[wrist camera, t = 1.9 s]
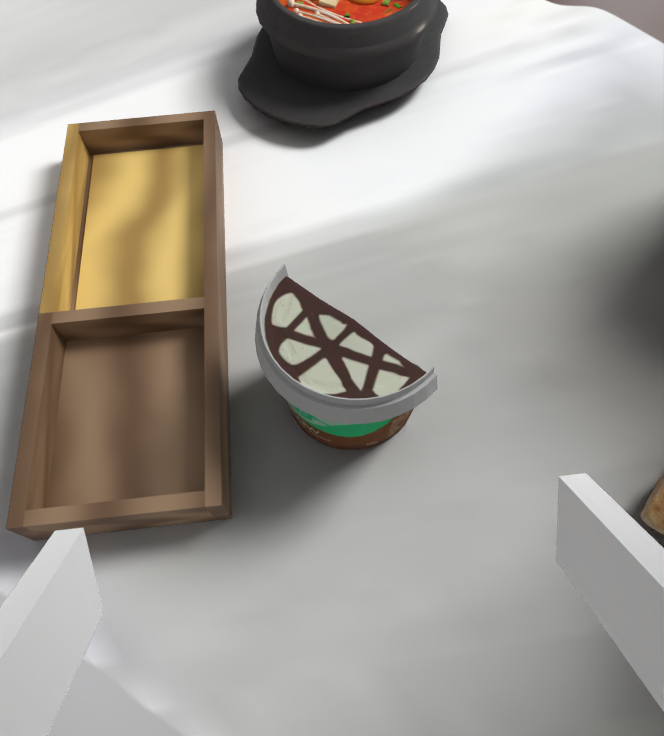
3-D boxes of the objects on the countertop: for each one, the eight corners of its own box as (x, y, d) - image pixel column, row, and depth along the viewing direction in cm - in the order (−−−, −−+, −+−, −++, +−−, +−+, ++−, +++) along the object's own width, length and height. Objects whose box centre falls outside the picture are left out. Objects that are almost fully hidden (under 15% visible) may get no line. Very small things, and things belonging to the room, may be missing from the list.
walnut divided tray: (222, 142, 55) (214, 110, 52) (231, 518, 38) (221, 504, 35) (84, 155, 55) (68, 124, 51) (33, 540, 38) (6, 528, 35)
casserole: (350, 173, 53) (350, 92, 45) (198, 96, 58) (176, 12, 51) (486, 31, 62) (505, -56, 54) (344, -24, 67) (343, -111, 60)
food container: (235, 397, 43) (205, 325, 34) (291, 341, 45) (277, 259, 36) (367, 504, 39) (372, 454, 30) (422, 437, 41) (442, 372, 32)
